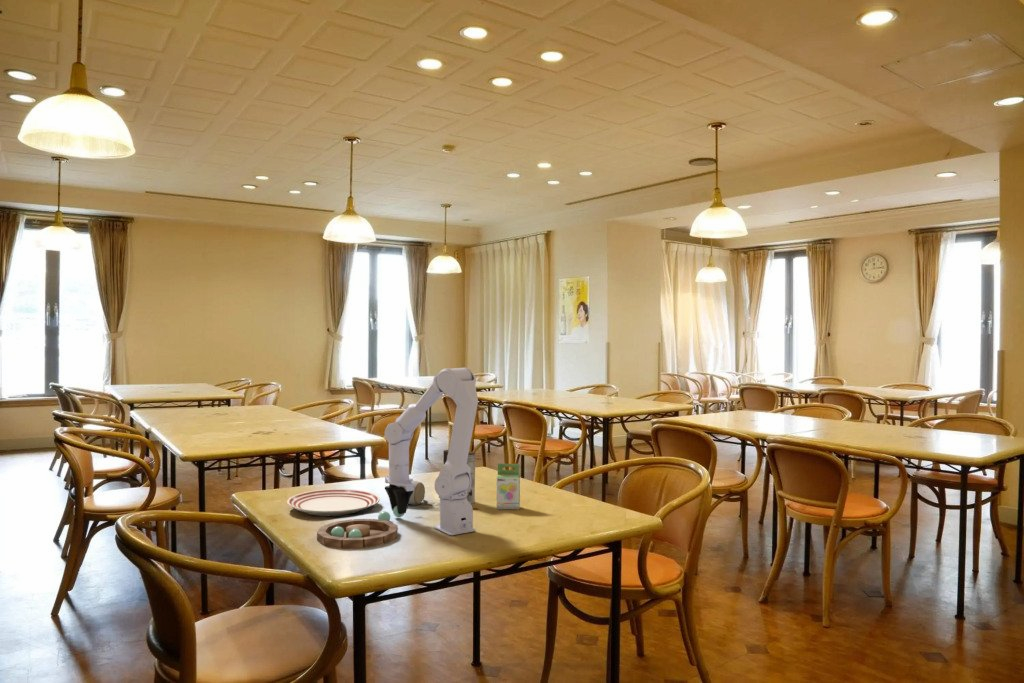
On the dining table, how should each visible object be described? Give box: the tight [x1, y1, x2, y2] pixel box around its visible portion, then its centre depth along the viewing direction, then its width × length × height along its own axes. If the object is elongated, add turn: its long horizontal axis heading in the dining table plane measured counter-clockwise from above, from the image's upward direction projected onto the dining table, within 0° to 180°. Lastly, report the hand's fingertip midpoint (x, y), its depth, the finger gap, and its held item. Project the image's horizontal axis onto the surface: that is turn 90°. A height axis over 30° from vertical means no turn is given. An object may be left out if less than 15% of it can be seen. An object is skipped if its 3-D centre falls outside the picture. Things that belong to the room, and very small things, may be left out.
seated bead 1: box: [331, 527, 345, 537], centre depth 180 cm, size 3×3×3 cm
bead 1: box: [377, 510, 391, 521], centre depth 198 cm, size 3×3×3 cm
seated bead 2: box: [348, 529, 362, 538], centre depth 178 cm, size 3×3×3 cm
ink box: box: [496, 463, 521, 511], centre depth 217 cm, size 7×4×13 cm, turn 87°
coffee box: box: [443, 449, 476, 504], centre depth 225 cm, size 9×6×16 cm
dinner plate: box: [286, 488, 381, 517], centre depth 216 cm, size 27×27×3 cm
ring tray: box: [316, 518, 399, 549], centre depth 183 cm, size 20×20×3 cm
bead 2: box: [392, 506, 405, 518], centre depth 202 cm, size 3×3×3 cm
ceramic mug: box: [408, 480, 426, 506], centre depth 224 cm, size 11×8×8 cm
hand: (399, 512), depth 202 cm, fingers closed on bead 2, 3 cm apart
